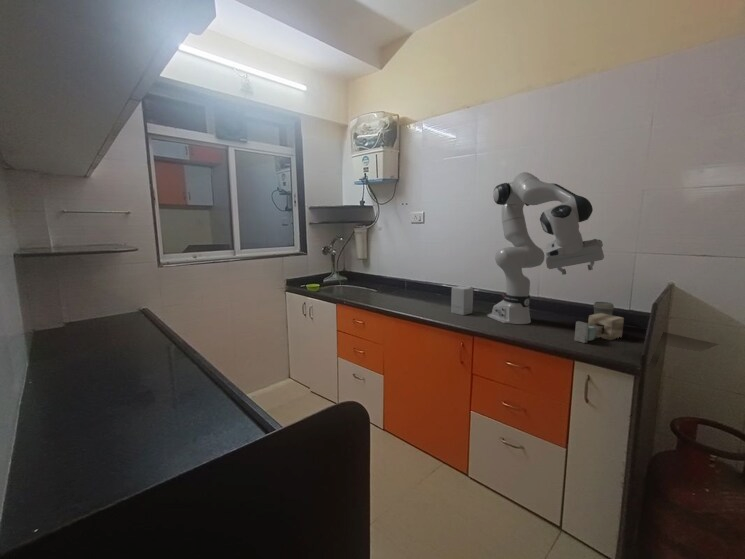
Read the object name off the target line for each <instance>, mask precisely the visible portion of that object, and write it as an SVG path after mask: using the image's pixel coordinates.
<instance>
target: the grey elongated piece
mask: <svg viewBox="0 0 745 559" xmlns="http://www.w3.org/2000/svg"><path fill="white" fill-rule="evenodd" d="M593 327H595V335H597V334H601V333H604V325H601V324H597V325H593ZM588 331H589V323H588V322H583V321H580V320H578V321H575V330H574V341H575V342H580V343H582V344H583V343H584V344H587V343H588V341H589V340H588Z"/></svg>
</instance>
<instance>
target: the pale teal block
mask: <svg viewBox="0 0 745 559" xmlns="http://www.w3.org/2000/svg"><path fill="white" fill-rule="evenodd" d="M595 337H596V336H595V327H593V326H589V331H588V341H593V340H595Z"/></svg>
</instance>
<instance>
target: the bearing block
mask: <svg viewBox="0 0 745 559" xmlns="http://www.w3.org/2000/svg"><path fill="white" fill-rule="evenodd" d="M624 320H625V318H624V317H622V316H616V315H613V314H612V315H608V314H603V313H597V314H594V313H592V314H590V315H588V322H587V323H589V326H593V325H597V324H601V325H604V333H601V334H597V335H595V337H596V336H597V337H596V338H600V337H601V339H605V340H609V341H613V340H616V338H617V339H619V337H620V338H622V337H623V330H624V322H625V321H624Z"/></svg>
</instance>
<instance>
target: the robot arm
mask: <svg viewBox="0 0 745 559" xmlns="http://www.w3.org/2000/svg"><path fill="white" fill-rule="evenodd" d="M492 196H493V201H494V202H495V204H496V205H501V206H502V207H501V224H502V228H503V229H502V230H503V235H504V239H506V241H508V242H510V243H511V244H512V245H513V246H508V247H507V246H506V247H503V248H499V249H498V250H497V252H496V254H495V256H494V258H495V263H496V265H497V266H498V267H499V268H500V269H501V270H502V271H503V273H504V275H505V278H506V291H505V293H503V294H502V295H501V297H502V298H503V299H502V300H501V301H499V302H497V303H496V304H494V305H493V307H492V310H491V311H492V312H490V313H488V314H487V317H488V318H489V319H490V318H491V319H493V320H495V321H498V322H499V323H501V324H502V323H503V324H515V325H528V324H530V323H532V320H531V315H530V302H531V295H530V291H531V290H530V289H531V280H530V278H528V276H525V275H524V273H523V269H528V268H529V269H530V268H535V267H539V266H542V264H544V261H545V265H546V268H547V269H548V270H554V269H557V271H559V272H561V275H567V270H566V268H565V267H569V266H576V265H582V264H586V263H587V270H588V271H592V270H593V269H594V268H593V267H594V265H595V262H597V261H602V260H603V259H604V258H605V255H604V251H603V246H604V244H603V241H602V240H600V239H597V238H594V239H590V240H589V239H588V240H583V237H582V236H583V235H582V233H581V232H580V230H579V228H580V223H583V222H586V221H587V220H589V219H590V217H591V215H592V213H593V205H592V204H591V202H590V200H589V199H587V198H586V197H584V196H582V195H578V194H575V193H574V192H572V191H571V190H568V189H567V188H566V187H564V186H562V185H560V184H557V183H550V182H544V181H542V180H540V179H539V178H538V176H536V175H534V174H532V173H529V172H528V171H527V172H526V171H524V172H520V173H518V174H517V175H516V176H515V177H514V179H513V181H511V182H504V183H500V184H498V185H496V186H495V187H494V189H493V195H492ZM549 202H560V204H558V205H556V206H553V207H551V208H550V207H549V208H548V209H546V210H545V211H543V212H541V214H540V217H539V222H540V224H541V227H542V230H543V232H544V233H546V234H548V235H552V236H555V240H553V241H551V242H549V243H548V244H546V246H545V251H544V250H543V249H542V248H540V247H539V246H538V245H536V244H535V242H534V241H533V240H532V239H531V236H530V234H529V231H528V228H527V224H526V222H527V221H526V218H525V213H524V206H526V207H530V206H538V205H542V204H545V203H549ZM588 263H589V264H588Z"/></svg>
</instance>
